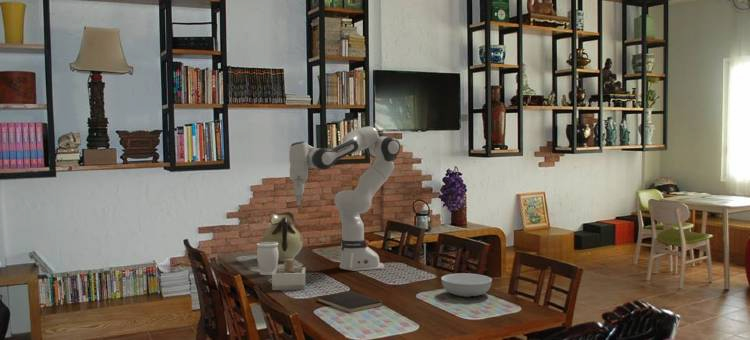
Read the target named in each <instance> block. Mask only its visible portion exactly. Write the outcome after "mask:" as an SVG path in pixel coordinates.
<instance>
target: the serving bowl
mask: <svg viewBox="0 0 750 340" xmlns="http://www.w3.org/2000/svg"><path fill="white" fill-rule="evenodd" d="M440 279H441V285H442V287H443V288H444V290H445V291H446V292H448V293H449V294H452V295H455V296H457V295H458V296H457V297H461V296H464V297H463V298H472V297H471V296H474V297H476V296H477V297H478V296H480V295H481V296H482V295H483V294H484V295H485V294H486V293H487V292H488V291H489V290H490V289H491V287H492V282H493V278H492V277H490V276H486V275H483V274H478V273H468V272H466V273H465V272H464V273H463V272H461V273H460V272H459V273H449V274H445V275H443V276H441V277H440Z"/></svg>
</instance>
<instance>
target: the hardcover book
mask: <svg viewBox="0 0 750 340" xmlns="http://www.w3.org/2000/svg"><path fill="white" fill-rule="evenodd" d="M316 298H317V301H318V302H321V303H323V304H326V305H328V306H332V307H334V308H336V309H340V310H342V311H345V312H347V313H353V312H359V311H363V310H364V311H365V310H367V309H372V308H378V307H382V306H384V302H383V301H381V300H378V299H374V298H371V297H370V296H369V297H368V296H366V295H362V294H359V293H357V292H352V291H349V290H346V291H340V292H333V293H329V294H324V295H319V296H316Z"/></svg>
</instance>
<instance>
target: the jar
mask: <svg viewBox="0 0 750 340" xmlns="http://www.w3.org/2000/svg"><path fill="white" fill-rule="evenodd" d="M256 246H257V251H256V258H257V259H256V260H257V265H258V268H259V275H261V276H272V273H273V271H274V268H278V263H279V261H278V257H279V254H278V248H277V246H278V243H277V242H258V243H256Z"/></svg>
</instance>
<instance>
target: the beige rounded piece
mask: <svg viewBox="0 0 750 340" xmlns="http://www.w3.org/2000/svg"><path fill="white" fill-rule="evenodd" d="M269 222H270V226H269V228H268V229H267V230H266V232H265V233H264V234H263V235H262V238H261V242H277V243H278V246H277V248H278V254H279V257H278V263H279V262H283V263H284V259H293V260H295V258H296V256H297V255H298V254H299V253H300V252H301V250H302V248H303V244H304V238H303V236H302V235H303V234H302V233H301V232H300V231H299V230H298V229H297V228H296V227H295V225H294V223H295V215H293V213H292V212H291V211H285V212H282V213H277V212H271V213H270V214H269ZM261 242H260V243H261Z"/></svg>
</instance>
